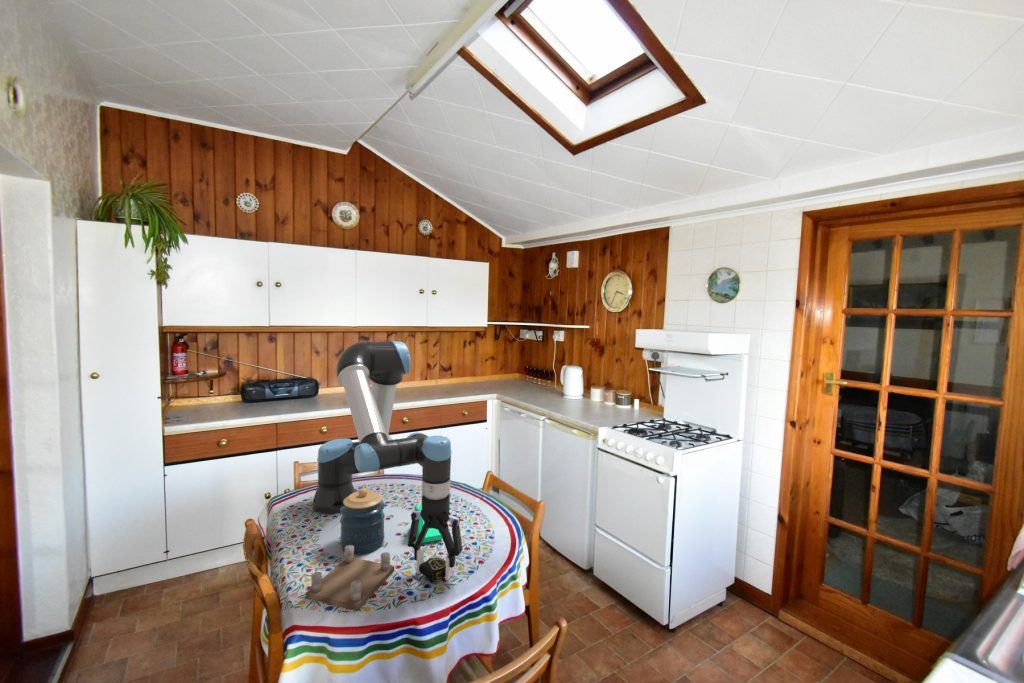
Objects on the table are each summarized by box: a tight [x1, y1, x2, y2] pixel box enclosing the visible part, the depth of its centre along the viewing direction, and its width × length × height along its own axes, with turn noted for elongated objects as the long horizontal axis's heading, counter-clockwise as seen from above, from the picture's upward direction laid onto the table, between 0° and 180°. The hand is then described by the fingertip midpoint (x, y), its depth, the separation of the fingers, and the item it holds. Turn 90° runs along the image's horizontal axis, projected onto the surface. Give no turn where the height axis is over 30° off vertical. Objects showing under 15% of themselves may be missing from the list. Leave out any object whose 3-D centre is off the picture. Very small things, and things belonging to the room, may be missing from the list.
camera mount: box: [413, 504, 443, 544], centre depth 143 cm, size 12×8×10 cm, turn 24°
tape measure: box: [419, 557, 446, 584], centre depth 121 cm, size 7×7×4 cm
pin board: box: [305, 545, 395, 612], centre depth 117 cm, size 15×17×6 cm
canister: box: [339, 487, 386, 555], centre depth 136 cm, size 13×13×18 cm
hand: (434, 574), depth 121 cm, fingers closed on tape measure, 8 cm apart
